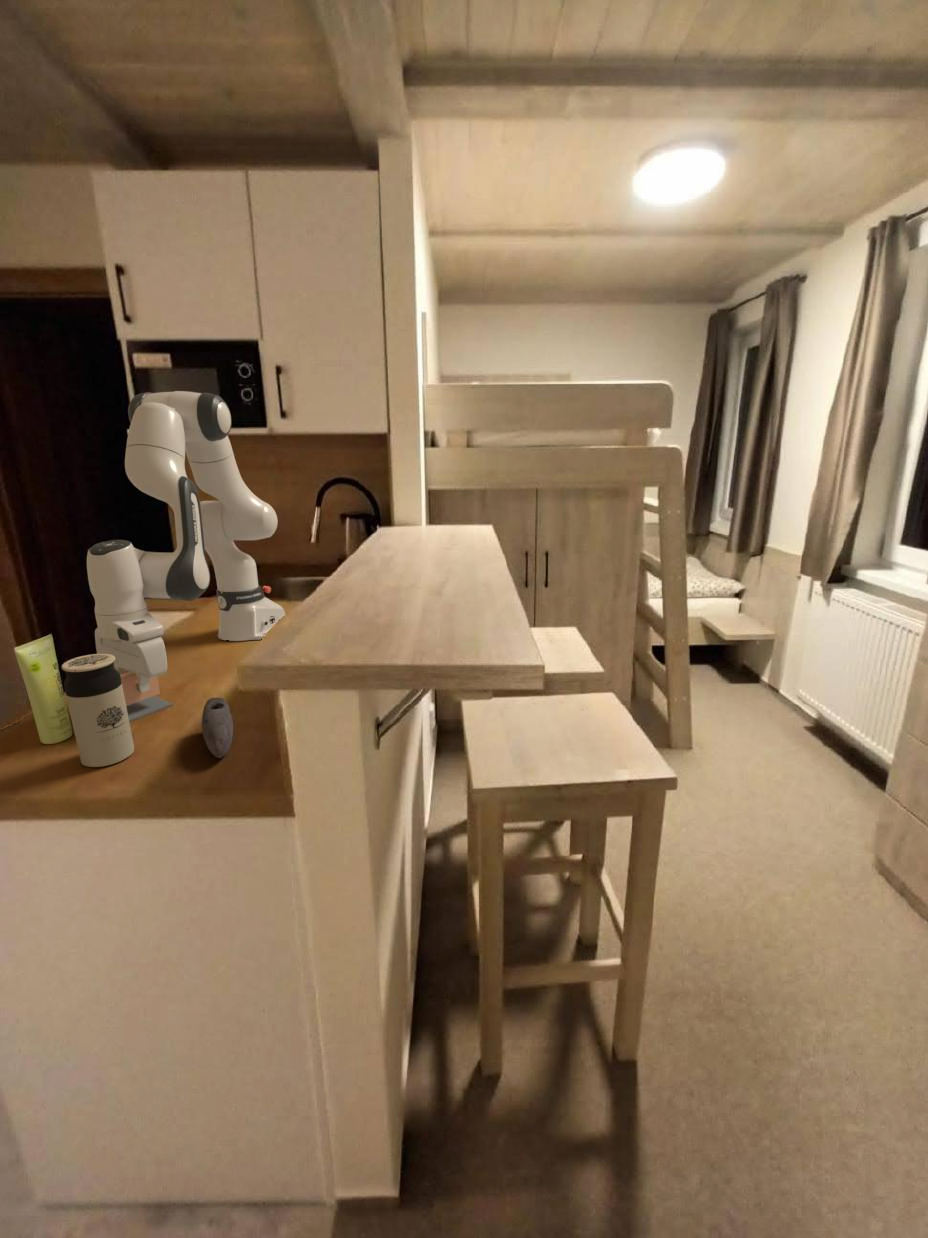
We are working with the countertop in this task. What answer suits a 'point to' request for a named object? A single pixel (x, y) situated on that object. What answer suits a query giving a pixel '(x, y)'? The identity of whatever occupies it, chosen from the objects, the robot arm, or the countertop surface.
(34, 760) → the countertop surface
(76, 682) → the travel mug
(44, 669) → the tube
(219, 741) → the perforated stone tool
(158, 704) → the slate pad
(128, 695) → the terracotta block
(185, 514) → the robot arm
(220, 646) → the countertop surface
